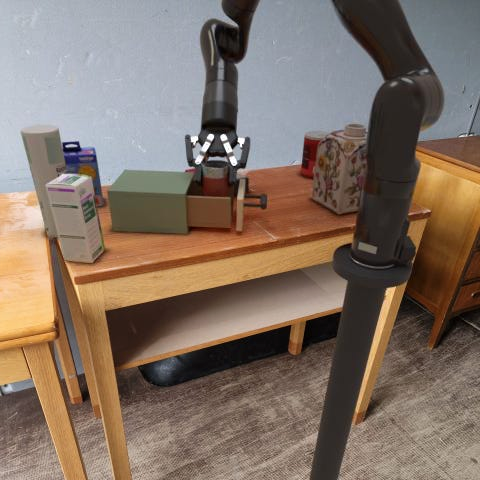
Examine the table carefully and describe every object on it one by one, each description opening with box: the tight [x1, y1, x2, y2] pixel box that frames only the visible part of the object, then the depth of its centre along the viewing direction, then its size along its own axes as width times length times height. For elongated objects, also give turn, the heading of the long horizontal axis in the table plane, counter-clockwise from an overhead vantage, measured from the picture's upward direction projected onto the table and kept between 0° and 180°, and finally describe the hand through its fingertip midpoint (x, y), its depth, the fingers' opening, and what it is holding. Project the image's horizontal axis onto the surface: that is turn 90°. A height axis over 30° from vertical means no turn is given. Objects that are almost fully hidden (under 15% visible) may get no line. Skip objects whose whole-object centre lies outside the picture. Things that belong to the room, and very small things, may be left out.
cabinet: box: [106, 169, 195, 235], centre depth 95 cm, size 16×14×9 cm
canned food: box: [300, 130, 331, 180], centre depth 123 cm, size 8×8×11 cm
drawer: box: [186, 179, 268, 232], centre depth 95 cm, size 19×12×7 cm, turn 87°
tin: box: [202, 159, 230, 197], centre depth 92 cm, size 6×6×8 cm
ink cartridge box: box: [61, 140, 105, 208], centre depth 100 cm, size 10×6×14 cm, turn 108°
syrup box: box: [45, 174, 106, 264], centre depth 79 cm, size 6×6×14 cm
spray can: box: [20, 124, 67, 239], centre depth 86 cm, size 6×6×20 cm
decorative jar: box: [311, 122, 368, 216], centre depth 103 cm, size 12×12×18 cm
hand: (215, 184), depth 91 cm, fingers closed on tin, 6 cm apart
